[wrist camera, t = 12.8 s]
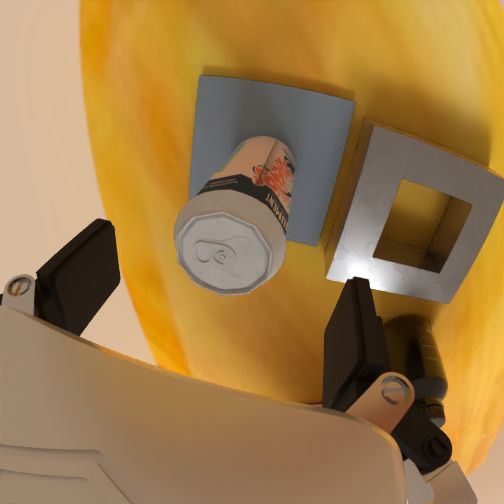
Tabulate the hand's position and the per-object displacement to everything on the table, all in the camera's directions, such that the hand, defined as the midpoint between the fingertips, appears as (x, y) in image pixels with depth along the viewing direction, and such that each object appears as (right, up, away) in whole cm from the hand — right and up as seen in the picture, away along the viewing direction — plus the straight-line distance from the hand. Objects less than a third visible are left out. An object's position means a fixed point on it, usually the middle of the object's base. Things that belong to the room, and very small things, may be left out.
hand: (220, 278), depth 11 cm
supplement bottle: (+18, -8, +18) cm, 27 cm away
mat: (+2, +8, +11) cm, 14 cm away
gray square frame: (+14, +4, +11) cm, 18 cm away
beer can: (+2, +7, +10) cm, 13 cm away
